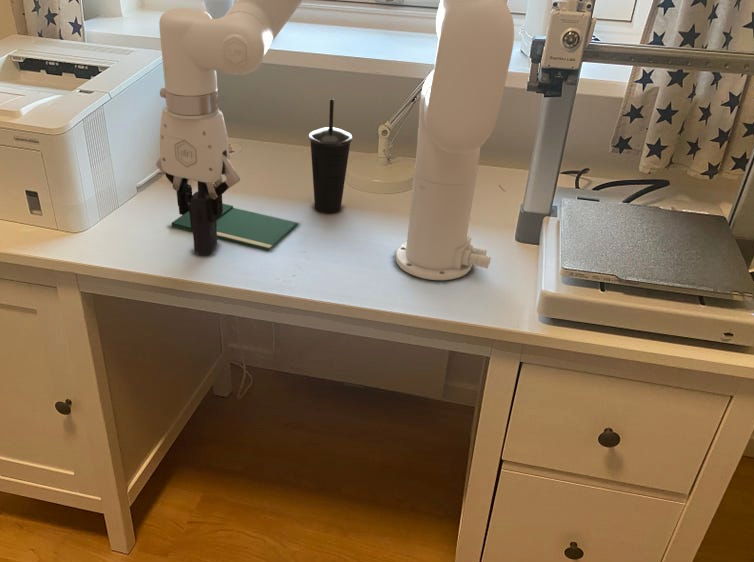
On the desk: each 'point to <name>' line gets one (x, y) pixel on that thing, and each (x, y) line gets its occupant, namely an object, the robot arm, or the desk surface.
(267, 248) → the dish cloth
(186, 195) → the two-way radio
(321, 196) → the drinking cup
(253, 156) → the desk surface
